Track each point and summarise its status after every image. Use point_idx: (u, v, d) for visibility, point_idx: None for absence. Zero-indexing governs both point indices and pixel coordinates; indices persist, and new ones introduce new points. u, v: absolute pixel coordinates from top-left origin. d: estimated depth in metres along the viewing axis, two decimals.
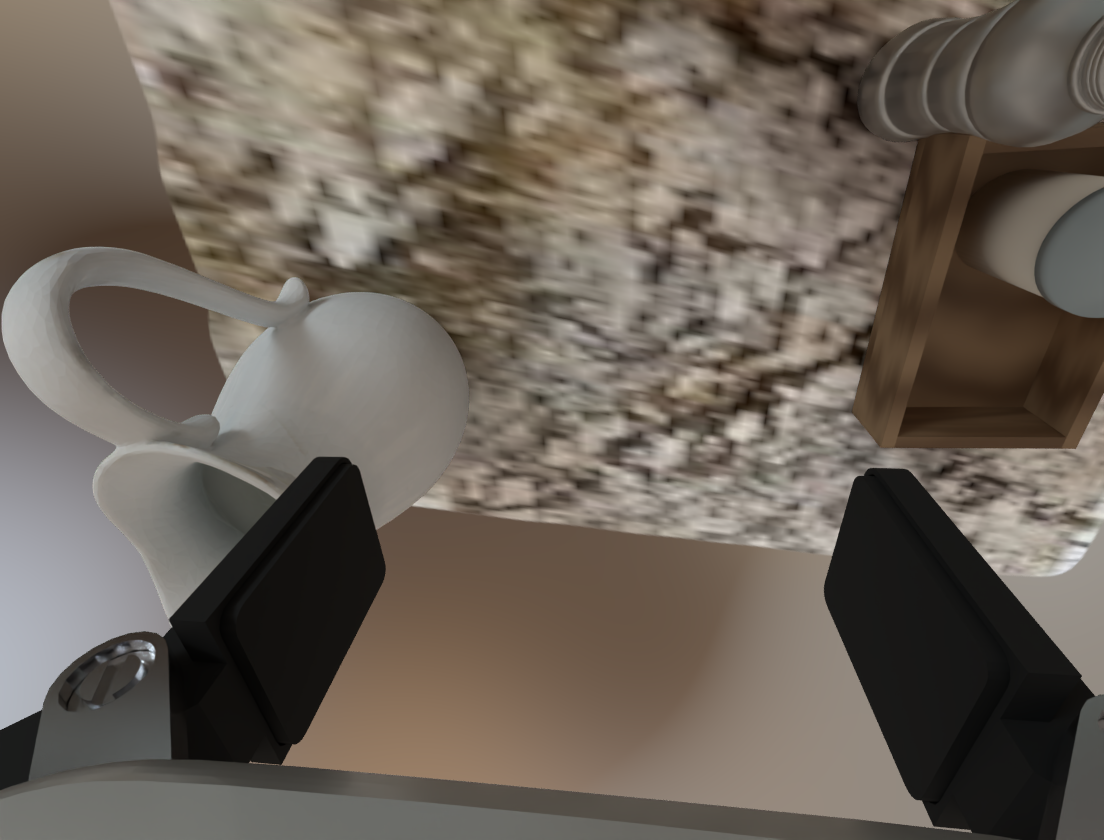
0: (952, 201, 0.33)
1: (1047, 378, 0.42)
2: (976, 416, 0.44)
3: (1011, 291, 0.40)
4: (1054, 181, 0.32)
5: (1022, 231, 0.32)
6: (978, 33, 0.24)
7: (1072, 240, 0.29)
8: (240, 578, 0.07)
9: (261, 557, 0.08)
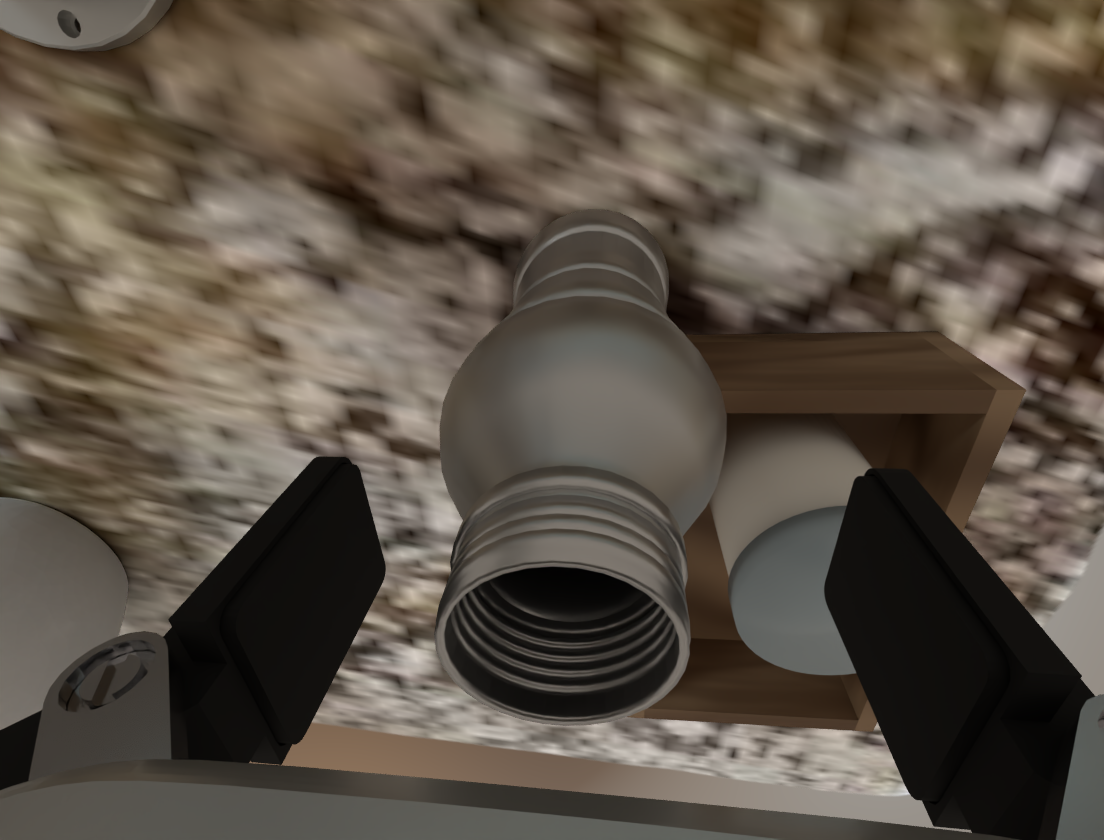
0: None
1: None
2: (761, 663, 0.33)
3: None
4: (776, 450, 0.22)
5: (726, 526, 0.21)
6: None
7: (757, 590, 0.18)
8: (240, 578, 0.07)
9: (261, 557, 0.08)
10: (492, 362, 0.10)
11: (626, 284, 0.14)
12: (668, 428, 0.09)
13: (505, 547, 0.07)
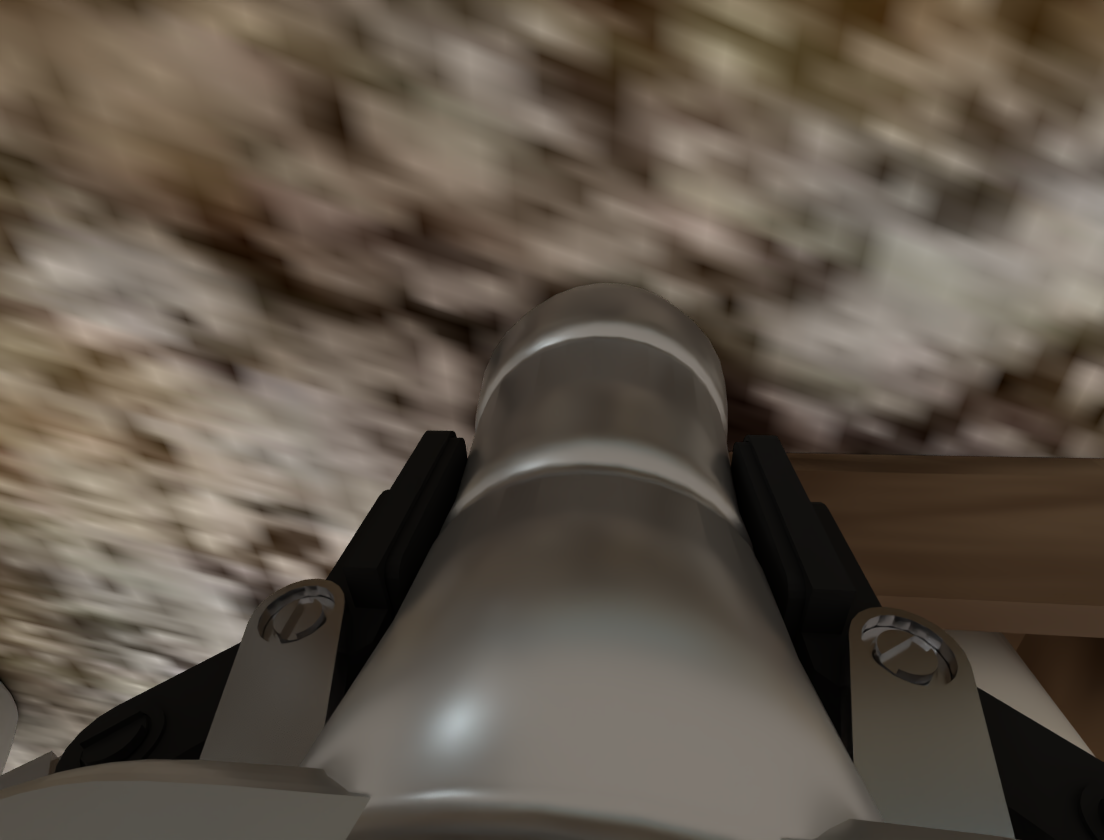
0: None
1: None
2: None
3: None
4: None
5: None
6: (317, 738, 0.05)
7: None
8: (396, 532, 0.08)
9: (406, 516, 0.08)
10: None
11: (682, 552, 0.06)
12: None
13: None
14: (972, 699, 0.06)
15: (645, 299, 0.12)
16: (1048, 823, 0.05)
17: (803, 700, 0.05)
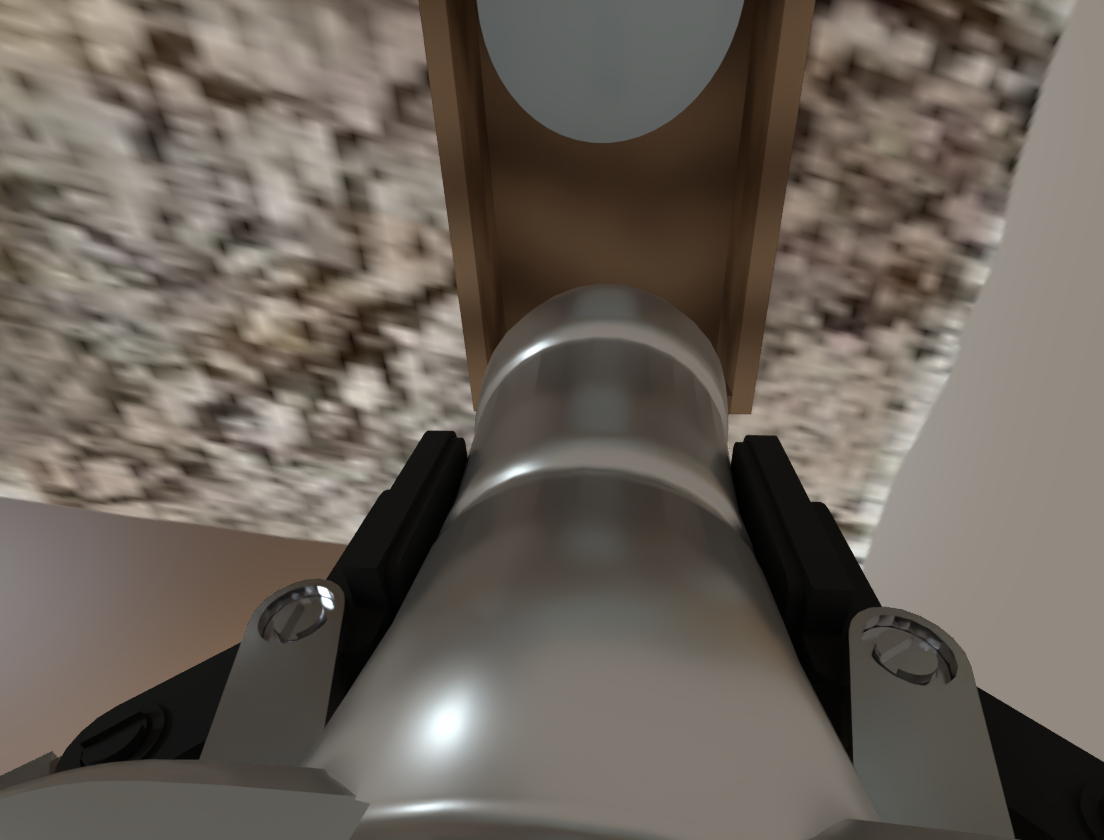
0: None
1: (725, 309, 0.27)
2: None
3: (649, 166, 0.26)
4: None
5: None
6: (314, 744, 0.05)
7: None
8: (395, 533, 0.08)
9: (406, 515, 0.08)
10: None
11: (683, 556, 0.06)
12: None
13: None
14: (972, 699, 0.06)
15: (645, 300, 0.12)
16: (1048, 823, 0.05)
17: (805, 707, 0.05)
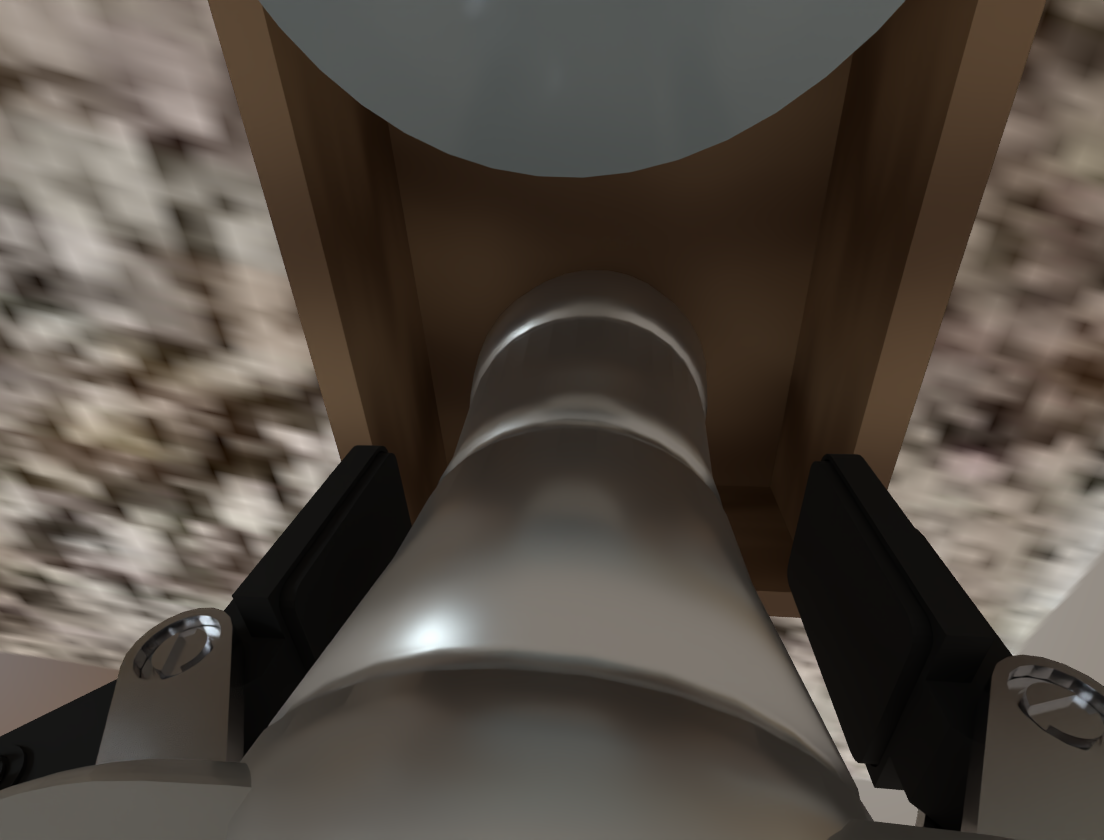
0: None
1: (795, 428, 0.17)
2: None
3: (670, 195, 0.15)
4: None
5: None
6: (326, 647, 0.06)
7: None
8: (296, 558, 0.07)
9: (313, 539, 0.08)
10: None
11: (647, 488, 0.07)
12: None
13: None
14: None
15: (628, 283, 0.13)
16: None
17: (745, 602, 0.06)
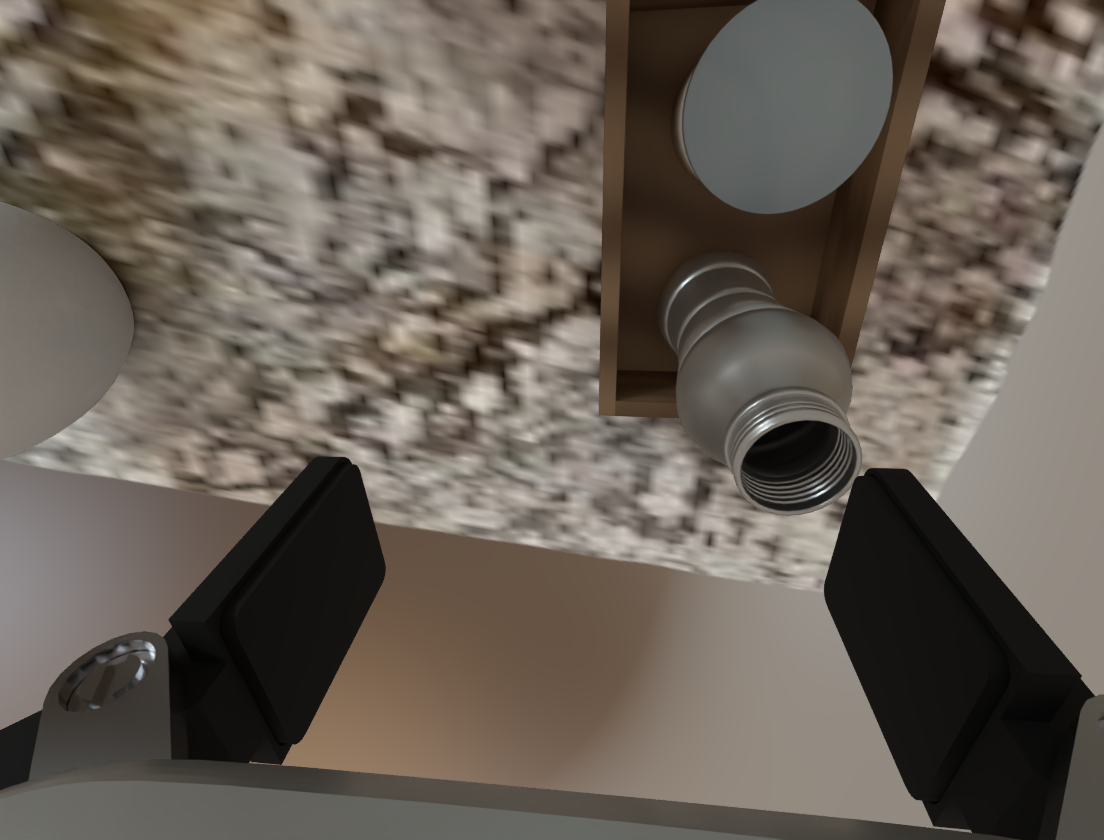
0: (608, 61, 0.24)
1: None
2: None
3: (756, 216, 0.31)
4: None
5: None
6: (691, 338, 0.22)
7: (705, 88, 0.20)
8: (241, 578, 0.07)
9: (261, 557, 0.08)
10: (730, 341, 0.19)
11: (776, 302, 0.23)
12: (832, 376, 0.18)
13: (781, 414, 0.16)
14: None
15: (741, 255, 0.29)
16: None
17: None
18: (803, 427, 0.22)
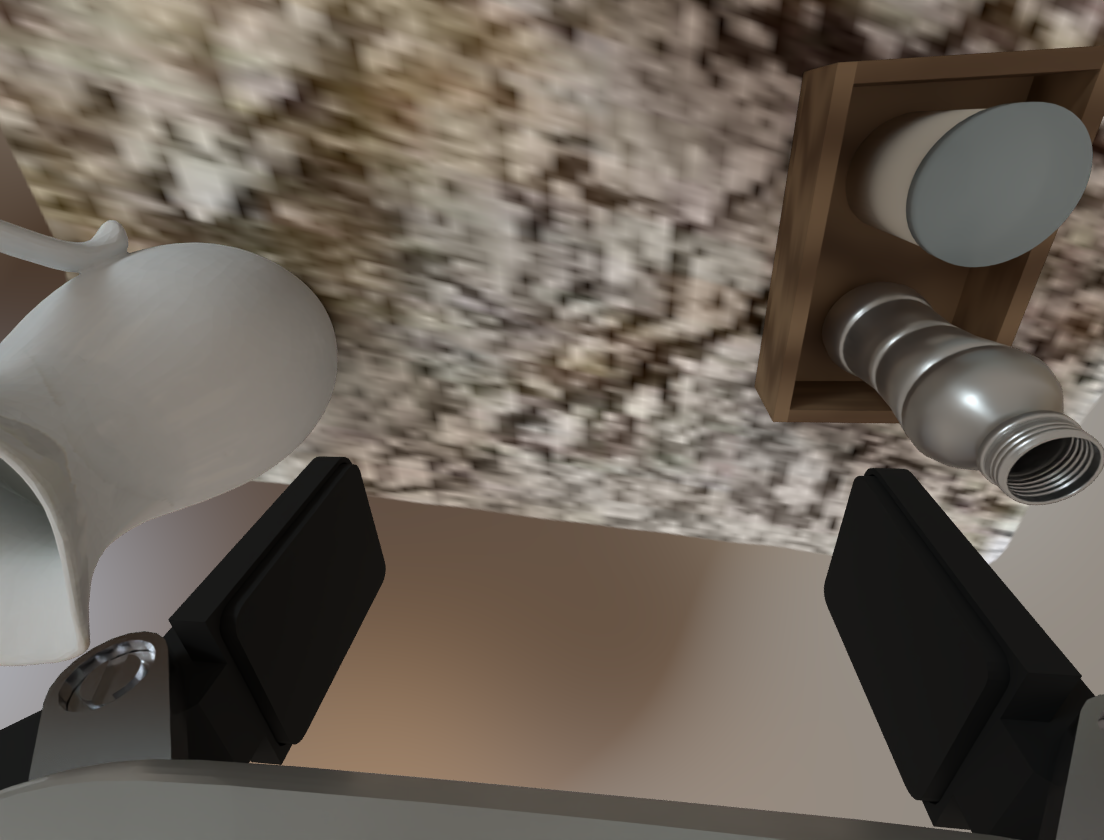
0: (825, 140, 0.30)
1: None
2: None
3: (911, 251, 0.37)
4: (934, 117, 0.29)
5: (897, 171, 0.29)
6: (912, 366, 0.28)
7: (939, 175, 0.26)
8: (240, 578, 0.07)
9: (261, 557, 0.08)
10: (971, 373, 0.25)
11: None
12: (1058, 399, 0.24)
13: (1046, 433, 0.22)
14: None
15: (906, 287, 0.35)
16: None
17: None
18: None
